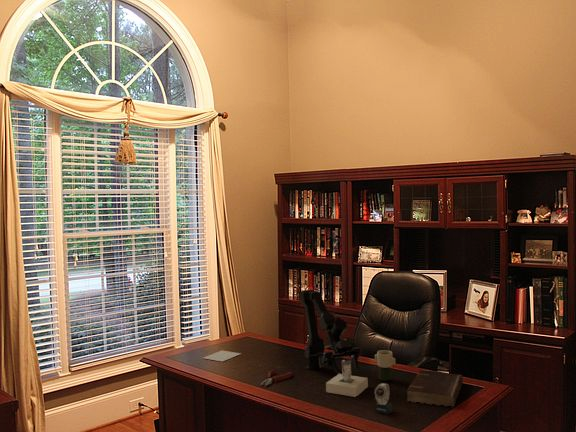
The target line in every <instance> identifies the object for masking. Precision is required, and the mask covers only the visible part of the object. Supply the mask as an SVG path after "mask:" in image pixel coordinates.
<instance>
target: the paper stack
mask: <svg viewBox="0 0 576 432" xmlns="http://www.w3.org/2000/svg"><path fill="white" fill-rule="evenodd" d="M239 355H242V353H241V352H240V353H239V352H233V351H228V350H220V351H216V352H213V353H212V354H210V355H207V356H204V357H203V359H204V360H206V359H207V360H212V361H217V362H225V361H227V360H229V359H230V360H231V359H232V358H234V357H236V356H239Z"/></svg>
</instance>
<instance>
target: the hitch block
mask: <svg viewBox="0 0 576 432" xmlns="http://www.w3.org/2000/svg"><path fill="white" fill-rule="evenodd" d="M368 380H369V379H368V377H363V376H357V375H351V382H352V383H351V384H350V383H344V382H342V373H340V374H337V375H335V376H334V377H333V378H331V379H329V380H328V381H326V383H325V391H326V392H325V393H330V394H334V395H335V394H336V395H342V396H347V397H352V398H353V397H354V398H357V397H358V396H359V395H360V394H361V393H362V392H364V391H365V389H367V388H368V387H369V383H368V382H369V381H368ZM356 396H357V397H356Z"/></svg>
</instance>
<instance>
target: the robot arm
mask: <svg viewBox="0 0 576 432" xmlns="http://www.w3.org/2000/svg"><path fill="white" fill-rule="evenodd" d="M298 297H299V300H300V303H301V305H302V306H303V308H304V311H305V317H306V324H307V331H308V338H307V342H306V348H305V349H304V351H303V352H304V357H305V358H307V359H308V366H306V368H305V369H306V370H312V371H313V370H314V371H319V370H320V369H322V368H324V365H325V366H328V367H330V368H331V369H332V370H333V371H334V372H335V373H336V374H337V375H338V374H341V373H340V369H339V368H338V367H339V366H338V364H337V362H336V359H338V358H345V357H349V359H351V360H352V363H351V365H352V366H353V368H354V370H355V371H356V372H358V371H359V363H358V360H359V358H360V356H361V355H362V353H363V350H362V348H361V347H352V346H353V345H354V340H353V338H352V337H349V338H347V339H343V338H342V337H341V336H342V335H344V333H345V330H346V329H347V326H348V324H347V322H346V321H345V320H343V319H342V318H341V317H340V316H338V317H336V316H334V314H333V313H331V312H329V310H328V308H327V306H326V304H325V302H324V299H323V298H322V293H321V292H320V291H318V290H317V291H316V290H314V289H304V290H303V289H302V290H301V291H300V292H299V294H298ZM316 313H317V314H318V316H319V318H320V319H319V325H320V328H321V329H322V331H324V332H326V331H327V333H326V336H325V338H326V340H328V341H329V344H330V347H329V348H330V350H331V351H325V349H326V348H325V344H324V339H323V338H322V337H321V336H320V335H319V329H318V322H317V316H316ZM351 347H352V348H351ZM349 348H351V350H350V351H349ZM321 363H322V364H323V365H321Z"/></svg>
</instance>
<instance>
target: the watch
mask: <svg viewBox="0 0 576 432" xmlns="http://www.w3.org/2000/svg"><path fill="white" fill-rule="evenodd" d="M390 392H391V391H390V386H389V384H388V383H383V382H382V383H381V382H380V384H378V385H377V386H375V389H374V396H375V400H376V403H375V404H374V413H376V412H378V413H377V414H381V413H383V414H382V415H386V414H389V413H390V414H391V413H392V412H393V403H392V402H389V399H390V394H391V393H390ZM390 414H389V415H390Z"/></svg>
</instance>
